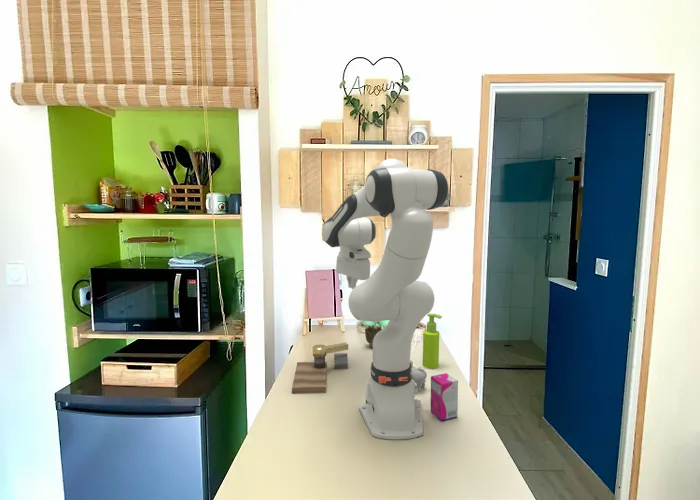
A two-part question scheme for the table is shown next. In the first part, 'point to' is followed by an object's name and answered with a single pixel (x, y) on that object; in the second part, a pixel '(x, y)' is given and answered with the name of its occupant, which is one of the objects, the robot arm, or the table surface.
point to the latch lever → (328, 349)
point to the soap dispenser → (431, 344)
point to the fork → (416, 342)
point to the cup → (371, 334)
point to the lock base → (316, 374)
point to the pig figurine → (418, 376)
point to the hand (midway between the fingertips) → (352, 288)
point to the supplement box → (444, 397)
